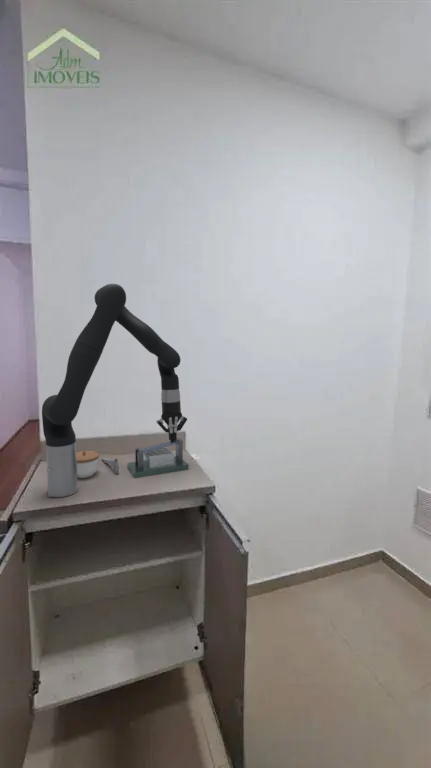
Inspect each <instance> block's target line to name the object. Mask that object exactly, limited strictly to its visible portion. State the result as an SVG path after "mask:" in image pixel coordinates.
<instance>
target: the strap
mask: <svg viewBox="0 0 431 768" xmlns="http://www.w3.org/2000/svg"><path fill="white" fill-rule="evenodd" d="M174 445H175V446H176V444H175V442H171V441H170V440H169V441H165V442H161V443H158V444H154V445H150V446H146V447H143V448H140V449H138V452H143V454H144V453H146V452H150V451H153V450H157V449H161V448H165V447H168V448H169V447H171V446H174Z"/></svg>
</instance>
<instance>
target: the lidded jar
mask: <svg viewBox="0 0 431 768" xmlns="http://www.w3.org/2000/svg"><path fill="white" fill-rule="evenodd" d="M99 455H100V454H99V453H98V452H96V451H90V450H89V451H87V450H86V451H85V450H82V451H78V452H76V458H77V479H78V478H79V479H86V478H90V477H92V476H94V474H95V472H96V471H97V470H98V467H99V462H100V461H99V457H100V456H99Z"/></svg>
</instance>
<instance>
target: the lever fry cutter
mask: <svg viewBox="0 0 431 768" xmlns="http://www.w3.org/2000/svg"><path fill="white" fill-rule="evenodd" d="M183 445H184V443H183V440H182V438H180V437H177V439H176V441H175V453H174V452H173V451H172V450H171V449H170V448H169V446H168V447H164V448H161V449H157V450H153V451H150V452H146V453H143V452H138V449H141V447H140V448H139V447H138V448H134V461H130V462H127V470H128V471H129V473H130V474H131V476H132V477H133V479H136V478H143V477H151V476H155V475H162V474H168V473H173V472H174V473H175V472H181V471H188V470H189V464H188V462H186V461H185V460H184V459H183V458H184V457H183V454H184V453H183V452H184V451H183V449H184V448H183V447H184V446H183Z"/></svg>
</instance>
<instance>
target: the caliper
mask: <svg viewBox="0 0 431 768" xmlns="http://www.w3.org/2000/svg"><path fill="white" fill-rule="evenodd" d="M101 459H102V460H103V461H104V462H103V461H102V460H101V461H102V462H103V463H105V464H108V465H110V467H111V468H113V471H114V474H115V475H119V474H120V468H119V467H120V466H119V461H118V458H116V457H114V458H113V459H109V458H106V457H102V458H101Z"/></svg>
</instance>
